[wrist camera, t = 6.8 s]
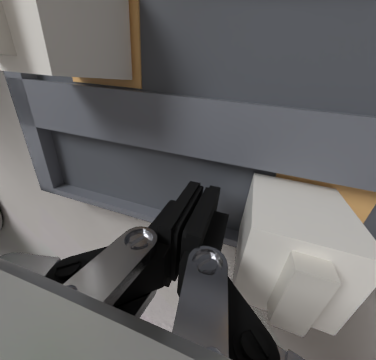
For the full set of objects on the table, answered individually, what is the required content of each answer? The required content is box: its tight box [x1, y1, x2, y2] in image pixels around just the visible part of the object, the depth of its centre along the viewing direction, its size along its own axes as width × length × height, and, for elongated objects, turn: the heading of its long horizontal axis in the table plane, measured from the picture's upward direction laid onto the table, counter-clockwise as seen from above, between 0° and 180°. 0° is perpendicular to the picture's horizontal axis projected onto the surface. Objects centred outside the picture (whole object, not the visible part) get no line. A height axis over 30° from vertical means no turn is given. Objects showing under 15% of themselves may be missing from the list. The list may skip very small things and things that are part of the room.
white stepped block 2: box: [232, 173, 376, 338], centre depth 9 cm, size 4×4×6 cm
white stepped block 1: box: [0, 0, 132, 80], centre depth 8 cm, size 4×4×6 cm
